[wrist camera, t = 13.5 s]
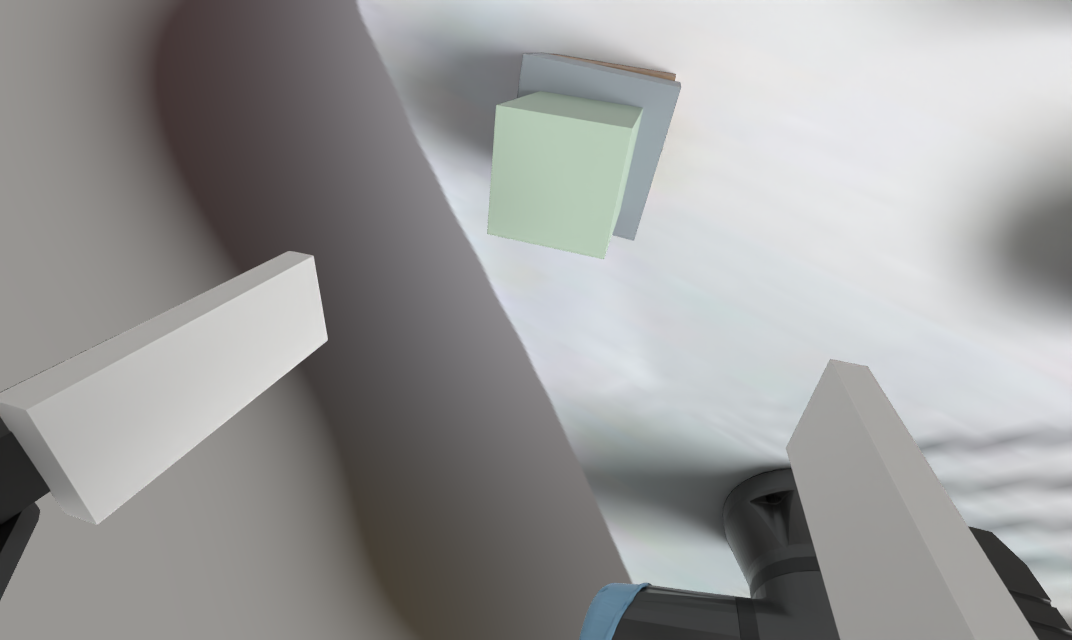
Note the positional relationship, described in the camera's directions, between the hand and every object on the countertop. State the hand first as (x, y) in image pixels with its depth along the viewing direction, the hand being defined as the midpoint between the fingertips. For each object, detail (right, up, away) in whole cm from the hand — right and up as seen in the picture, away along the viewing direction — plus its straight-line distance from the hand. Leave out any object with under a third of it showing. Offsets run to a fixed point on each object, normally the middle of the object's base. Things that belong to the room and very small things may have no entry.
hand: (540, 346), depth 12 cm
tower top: (+4, +13, +20) cm, 24 cm away
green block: (+3, +11, +16) cm, 20 cm away
